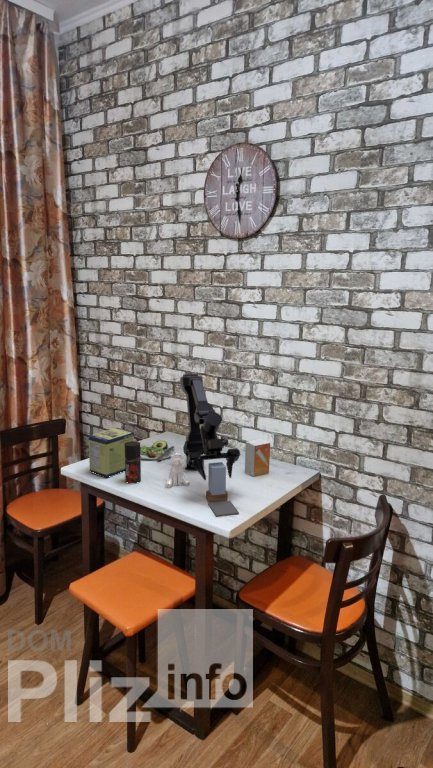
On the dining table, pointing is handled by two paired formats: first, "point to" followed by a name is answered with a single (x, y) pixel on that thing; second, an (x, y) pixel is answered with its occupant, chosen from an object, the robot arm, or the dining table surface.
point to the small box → (257, 457)
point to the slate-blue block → (217, 478)
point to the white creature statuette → (177, 472)
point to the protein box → (108, 451)
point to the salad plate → (157, 451)
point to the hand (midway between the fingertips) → (218, 478)
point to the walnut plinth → (216, 497)
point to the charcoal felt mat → (223, 508)
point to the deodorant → (132, 462)
